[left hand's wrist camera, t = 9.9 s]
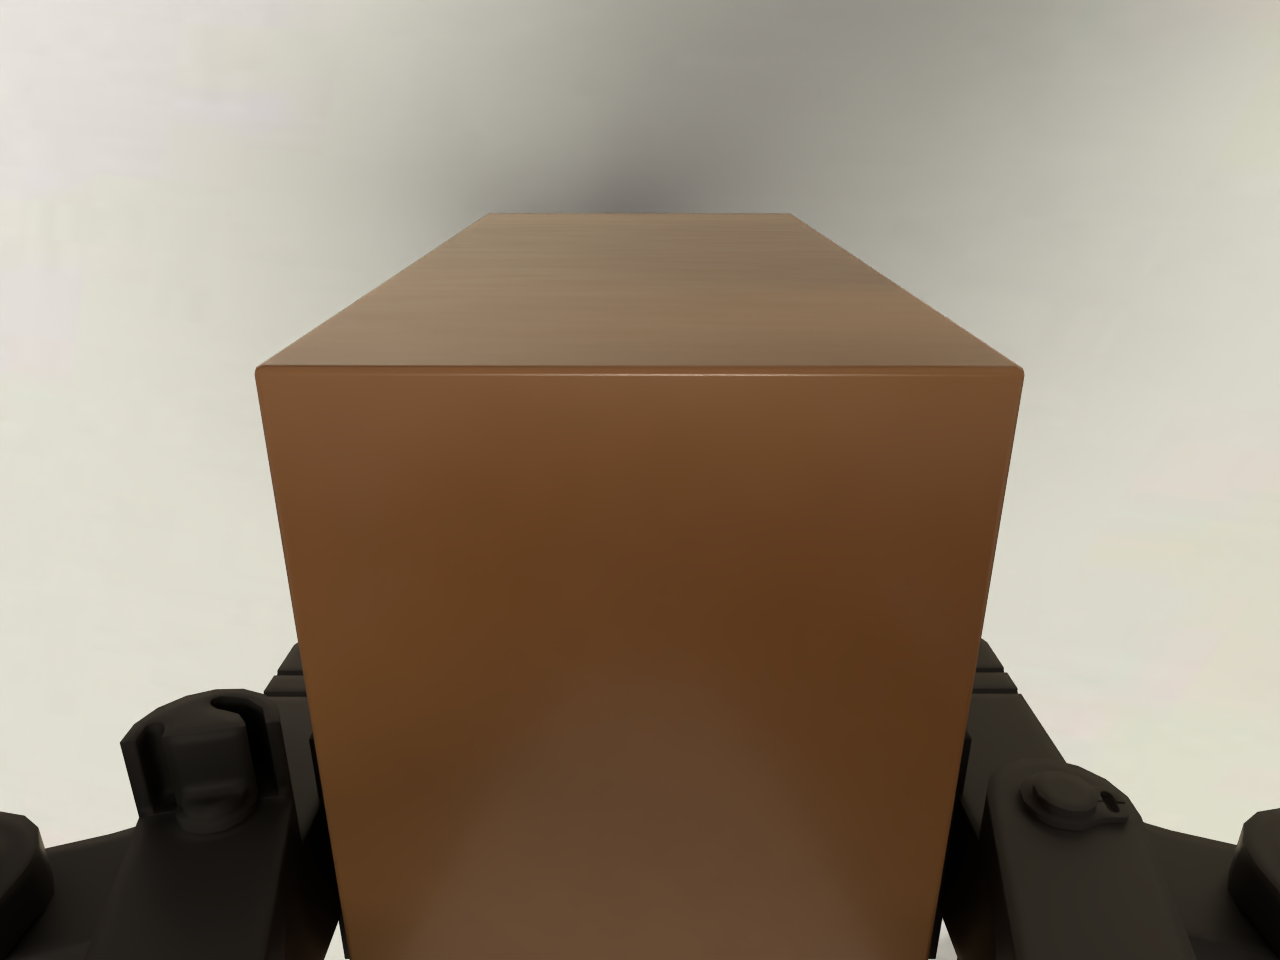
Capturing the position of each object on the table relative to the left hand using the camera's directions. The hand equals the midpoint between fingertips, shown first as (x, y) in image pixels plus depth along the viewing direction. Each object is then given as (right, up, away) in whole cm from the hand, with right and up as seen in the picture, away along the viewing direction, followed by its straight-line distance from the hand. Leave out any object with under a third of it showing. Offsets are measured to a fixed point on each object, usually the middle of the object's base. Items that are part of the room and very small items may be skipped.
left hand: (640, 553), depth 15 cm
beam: (0, -23, +10) cm, 25 cm away
